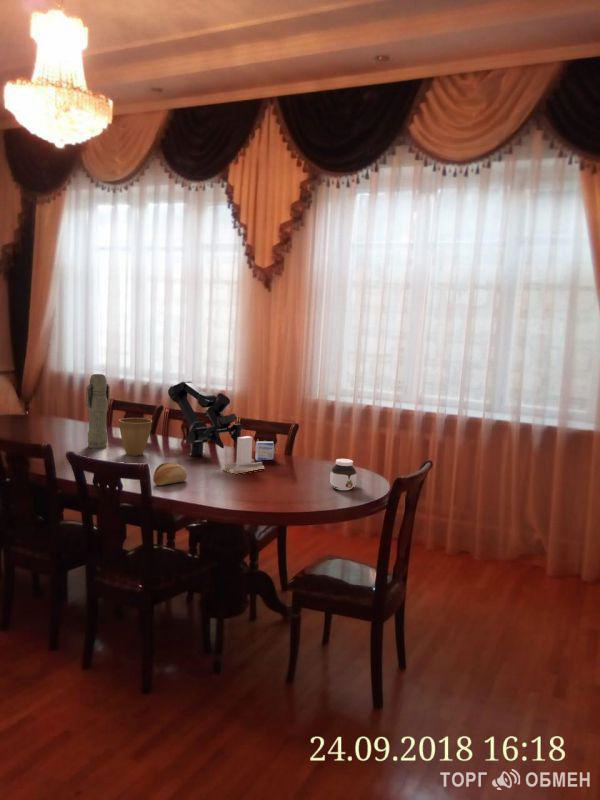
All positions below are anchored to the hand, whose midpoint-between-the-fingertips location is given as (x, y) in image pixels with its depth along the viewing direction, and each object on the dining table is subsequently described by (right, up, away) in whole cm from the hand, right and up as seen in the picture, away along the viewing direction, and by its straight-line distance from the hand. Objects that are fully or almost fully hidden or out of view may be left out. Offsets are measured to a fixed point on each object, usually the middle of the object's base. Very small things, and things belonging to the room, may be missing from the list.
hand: (231, 446), depth 277 cm
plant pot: (-46, -5, +14) cm, 49 cm away
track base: (+6, -10, -5) cm, 12 cm away
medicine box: (+14, -8, +16) cm, 23 cm away
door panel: (+6, -8, -5) cm, 11 cm away
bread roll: (-21, -12, -31) cm, 40 cm away
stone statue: (-67, -2, +24) cm, 71 cm away
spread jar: (+48, -15, -24) cm, 56 cm away
